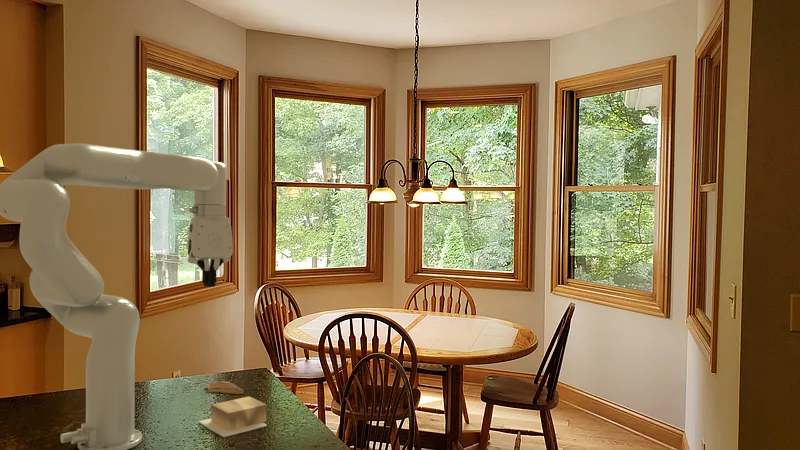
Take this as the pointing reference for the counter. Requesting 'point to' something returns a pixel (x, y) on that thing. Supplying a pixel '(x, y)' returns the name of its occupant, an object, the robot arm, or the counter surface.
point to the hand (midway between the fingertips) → (209, 286)
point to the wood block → (238, 413)
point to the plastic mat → (226, 433)
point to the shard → (224, 387)
